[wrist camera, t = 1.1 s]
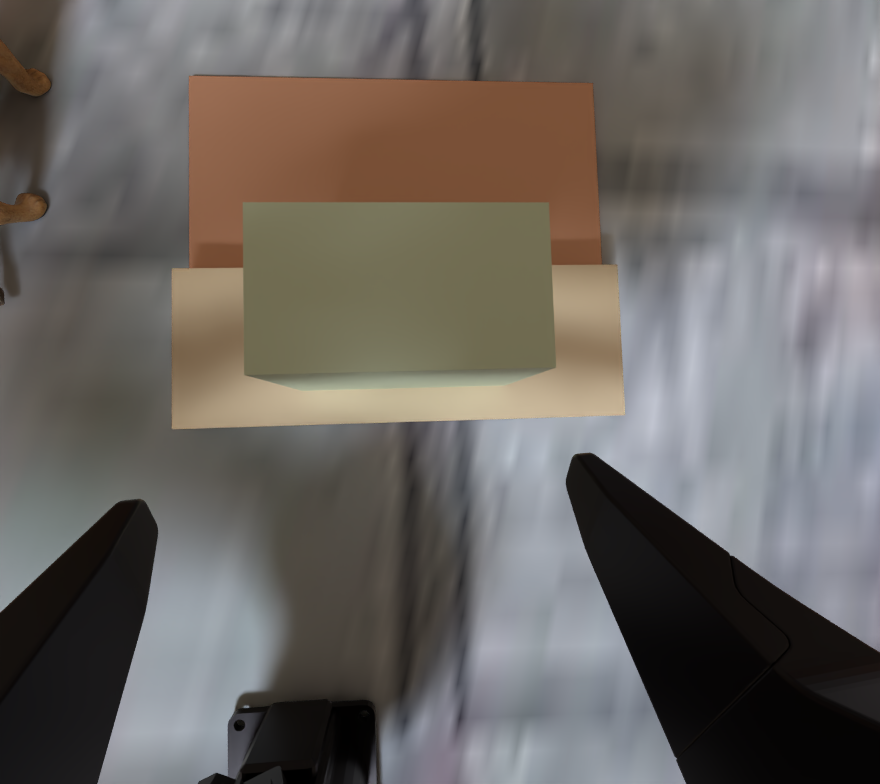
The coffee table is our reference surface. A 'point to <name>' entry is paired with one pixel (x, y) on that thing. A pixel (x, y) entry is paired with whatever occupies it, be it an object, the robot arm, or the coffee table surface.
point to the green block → (397, 294)
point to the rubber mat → (389, 151)
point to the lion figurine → (35, 85)
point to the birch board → (268, 404)
